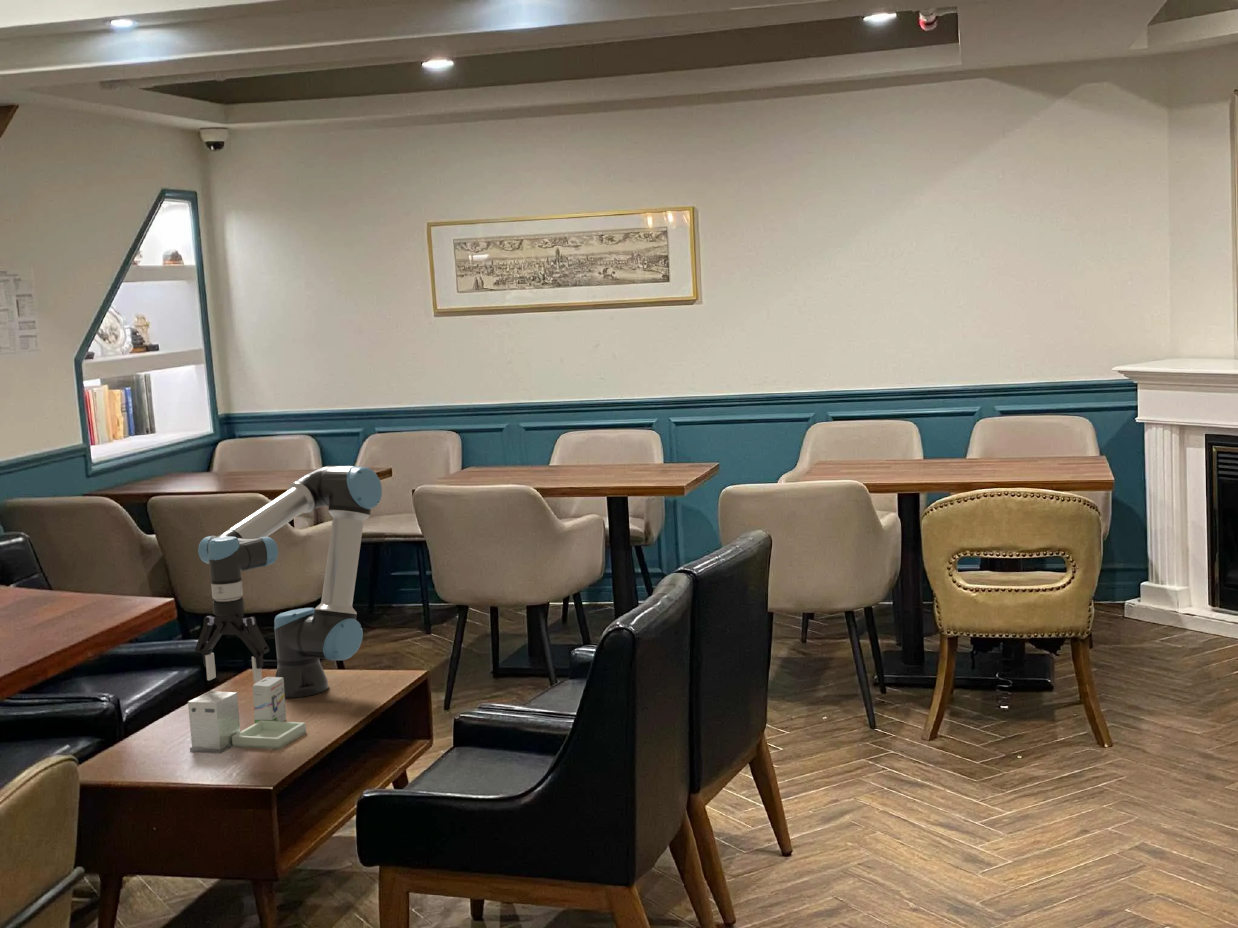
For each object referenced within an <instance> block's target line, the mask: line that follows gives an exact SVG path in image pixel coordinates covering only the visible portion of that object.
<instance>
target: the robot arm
mask: <svg viewBox="0 0 1238 928" xmlns="http://www.w3.org/2000/svg"><path fill="white" fill-rule="evenodd" d="M382 494H383V487H382V482H381V479H380V477H378V474H377V473H376V472H375V471H374V470H373V469H371V468H369V467H366V466H360V465H354V466H353V465H327V466H322V467H318V468H316V469H315V470H312V471H310V472H308V473H306V474H304V475H303V476H301V477H300V478H298V479H295V480H294V481H293V482H291V483H290V484H289V485H288V487H287V490H286V491H285V492H283V493H281V494H280V495H278V496H277V497H276V498H274V499H272V500H271V501H269V502H268V503H266V504H264V505H263V506H261V507H260V508H259V509H257V510H255V511H254V512H252V513H251V514H249V515H248V516H247V517H244V519H242V520H240V521H238V523H236V524H234V525H233V526H231V527H230V528H228V529H226V531H224V532H222V533H220V534H219V535H209V536H206V537H204V538H202V539H201V540H200V542H199V544H198V549H197V552H198V553H197V554H198V556H199V559H200V561H202V562H203V563H205V564H207V565H209V567H208V568H209V576H210V577H209V578H210V583H211V584H210V585H211V586H210V587H211V597H212V599H214V600H213V601H212V610H213V615H214V616H213V615H212V614H211V615H207V616H205V617H203V626H202V629H201V632H200V634H199V637H198V641H197V643H196V646H195V648H194V649H195V652H196V653H200V654H202V659H203V660H202V661H203V667H204V668H206V680H207V681H211V680H213V679H215V678H217V676H216V675H217V674H216V672H217V671H216V664H215V663H216V662H215V653H214V652H213V650H214V648H215V646H216V645H217V643H218V641H219V640H220V639H221V637H222V635H224V636H226V635H231V636H236V637H237V638H239V639H240V640H241V641H242V642H243V643H244V644H245V646H246V647H247V649H248V650H249V651H250V652H251V653H252V654H253V656H251V666H252V679H253V680H252V681H253V683H257V682H259V681H260V680H262V679H263V674H262V673H263V672H262V668H264V655H265V654H267V653H269V652H270V647H269V646H268V643H267V642H266V639H265V638H264V636H263V634H262V632H261V630H260V628H259V626H258V624H257V619H256V616H254V615H253V616H250V617H245V615H244V613H245V603H244V602H245V601H244V598H243V597H242V596H243V595H244V589H243V581H242V580H243V579H242V572H244V571H250V570H255V569H259V568H262V567H263V568H265V567H267V566H269V565H272V564H274V563H275V562H276V561H277V559H278V557H279V547H278V544H277V543H276V541H275V540H274V539H273V538H271V537H270V535H272V534H274V533H275V532H276V531H278V530H279V529H281V528H282V527H284V526H285V525H287V524H288V523H290V522H291V521H292V520H294V519H296V518H297V517H299V516H300V515H301V514H308V513H311V512H312V511H314V510H315V509H319V508H323V507H324V508H325V507H328V509H327V511H328V513H329V515H330V516H331V517H332V521H331V522H332V523H331V529H330V534H329V535H330V537H329V543H328V544H329V545H328V550H327V558H326V563H325V573H324V579H323V586H322V592H321V593H322V594H321V601H320V603H319V604H318V605H317V606H316V607H315V608H314V607H304V608H297V609H291V610H288V611H285V612H280V613H279V614H277V615H275V617H274V622H273V623H274V628H273V630H274V642H275V651H276V661H277V668H276V671H275V675H274V677H283V678H284V693H285V698H289V699H290V698H303V697H309V696H313V695H317V694H321V693H322V692H325V691H326V690H327V689H328V688H329V684H328V682H329V681H328V678H327V675H326V673H325V671H324V668H323V666H322V663H321V661H320V660H323V659H324V660H329V661H346V660H348V659H350V658H352V657H353V656H354V654H356V653H357V652H358V651H359V650H360V647H361V645H362V642H363V639H364V638H363V636H364V635H363V634H364V632H363V628H362V625H361V623H360V622H359V621H358V620H357V614H358V613H357V611H356V610H355V609H354V608H353V602H354V595H355V587H356V581H357V573H358V566H359V559H360V550H361V544H362V535H363V528H364V522H365V521H366V520H368V518H370V517H371V510H372V509H374V508H376V507H377V506H378V504H379V503H380V502H381V499H382V496H383V495H382ZM214 625H215V626H216V628H215V630H214V631H213V634H212V635H211V632H212V630H213V626H214ZM210 636H211V637H210Z"/></svg>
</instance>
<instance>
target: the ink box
mask: <svg viewBox="0 0 1238 928" xmlns="http://www.w3.org/2000/svg"><path fill="white" fill-rule="evenodd" d="M252 697H253V699H252V700H253V701H252V702H253V714H254V716H253V717H254V718H253V719H254V724H255V723H257V722H259V721H261V720H264V721H284V722H285V721H286V720H287V712H286V711H287V710H286V709H287V708H286V707H287V706H286V697H285V693H284V678H283V677H275V676H266V677H264V678H262V680H260V681H258V682H254V683H253V686H252Z"/></svg>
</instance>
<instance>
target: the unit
mask: <svg viewBox="0 0 1238 928" xmlns="http://www.w3.org/2000/svg"><path fill="white" fill-rule="evenodd" d="M187 705H188V718H189V719H188V720H189V729H190V739H191V746H190V747H189V752H192V753H194V752H195V753H210V754H222V753H223V752H225V751H227V750H228V749H231V748H232V747H233V745H232V736H234V735H235V734H237V733H239V732H241V723H240V722H241V721H240V712H239V699H238V692H237V691H236V692H235V691H215V690H210V691H207V692H205V693H203V694H201V695H199V696H197V697H195V698H193V699H190V700H188V701H187Z"/></svg>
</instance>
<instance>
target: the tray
mask: <svg viewBox="0 0 1238 928" xmlns="http://www.w3.org/2000/svg"><path fill="white" fill-rule="evenodd" d="M306 726H307V725H306V722H302V721H301V722H299V721H285V720H284V721H264V720H261V721H259V722H257V723H255V722H254V724H251V725H249V726H248V727H245V728H244V729H243V730H240V732H239V733H237V734H235V735H234V736H232V745H233V746H232V747H233V748H248V749H250V748H252V749H263V750H265V749H267V750H280V749H282V748H283V747H285V746H286V745H288V744H290V743H292V742H294V741H295V740H296V739H298V738H300V737H301V736H303V735H305V734H306V733H307V727H306Z"/></svg>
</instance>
